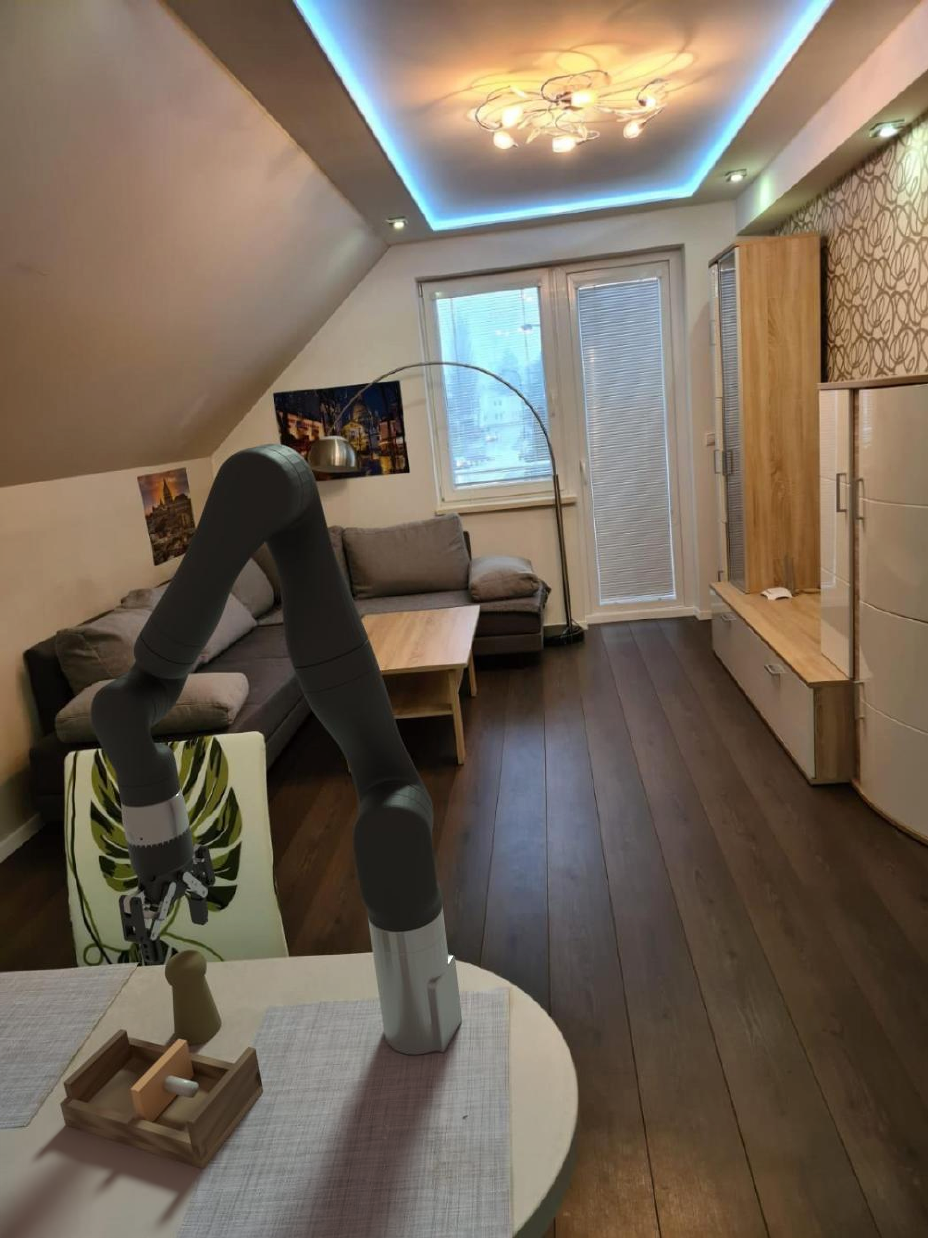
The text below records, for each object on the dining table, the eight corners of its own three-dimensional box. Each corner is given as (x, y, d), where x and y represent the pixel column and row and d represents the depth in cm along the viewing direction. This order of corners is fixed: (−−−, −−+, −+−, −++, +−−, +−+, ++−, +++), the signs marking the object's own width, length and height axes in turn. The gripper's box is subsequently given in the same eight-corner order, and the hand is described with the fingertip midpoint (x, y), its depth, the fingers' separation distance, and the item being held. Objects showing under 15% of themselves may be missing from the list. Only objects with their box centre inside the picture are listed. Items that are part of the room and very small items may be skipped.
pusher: (219, 1082, 100) (212, 1047, 99) (173, 1136, 93) (165, 1099, 92) (186, 1073, 102) (178, 1038, 101) (138, 1126, 95) (130, 1089, 94)
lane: (263, 1091, 100) (255, 1048, 99) (203, 1169, 90) (193, 1123, 89) (133, 1056, 108) (124, 1017, 106) (65, 1125, 98) (54, 1082, 96)
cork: (208, 1047, 108) (192, 973, 105) (165, 1044, 109) (149, 971, 107) (229, 1014, 114) (215, 943, 111) (189, 1012, 115) (174, 942, 112)
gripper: (139, 861, 97) (163, 982, 101) (218, 805, 109) (236, 915, 113) (90, 853, 99) (115, 971, 103) (172, 799, 112) (192, 907, 116)
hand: (178, 942), depth 108 cm, fingers open, 8 cm apart
